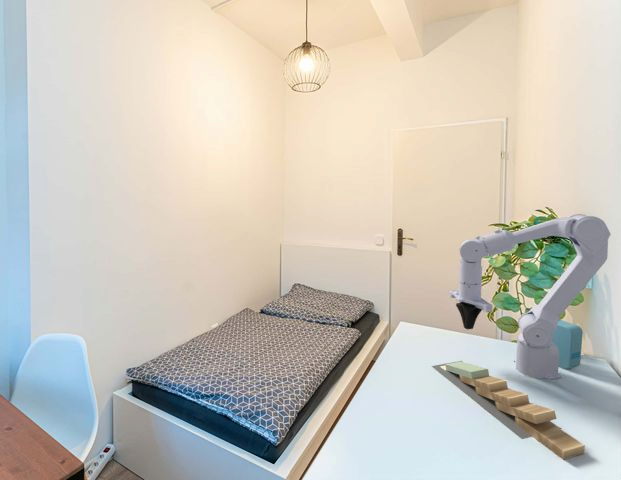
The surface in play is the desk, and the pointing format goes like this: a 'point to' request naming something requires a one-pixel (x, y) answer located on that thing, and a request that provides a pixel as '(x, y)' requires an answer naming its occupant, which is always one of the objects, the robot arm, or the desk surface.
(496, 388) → the domino
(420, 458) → the desk surface
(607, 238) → the robot arm
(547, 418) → the domino
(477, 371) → the green domino
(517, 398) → the domino
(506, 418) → the board
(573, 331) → the light blue rounded block
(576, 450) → the domino
